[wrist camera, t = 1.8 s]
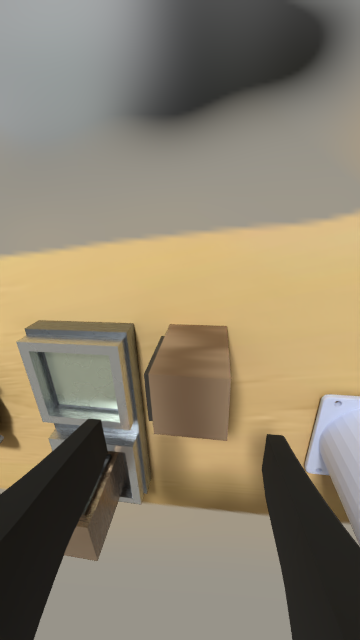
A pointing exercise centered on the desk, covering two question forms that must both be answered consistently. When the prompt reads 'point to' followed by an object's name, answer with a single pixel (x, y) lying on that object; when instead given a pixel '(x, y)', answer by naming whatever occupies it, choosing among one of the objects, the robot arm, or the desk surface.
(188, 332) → the walnut block
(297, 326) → the desk surface
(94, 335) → the grey block holder
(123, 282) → the desk surface
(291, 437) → the desk surface
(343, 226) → the desk surface
